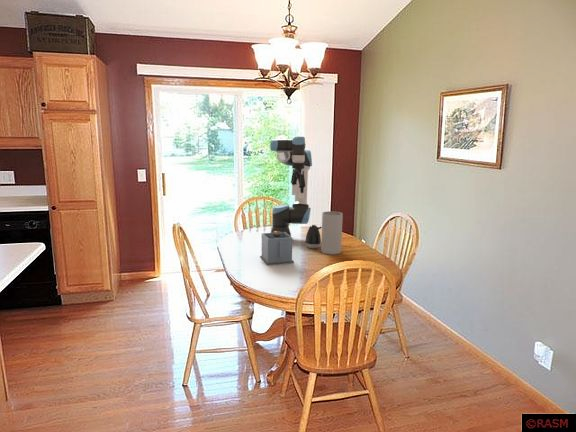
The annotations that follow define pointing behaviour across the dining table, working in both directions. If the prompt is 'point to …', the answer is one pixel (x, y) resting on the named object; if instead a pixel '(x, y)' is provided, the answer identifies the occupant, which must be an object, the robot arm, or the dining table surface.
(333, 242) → the cylinder vase
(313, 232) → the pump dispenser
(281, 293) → the dining table surface
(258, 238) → the dining table surface
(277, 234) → the plunger
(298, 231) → the dining table surface
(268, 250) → the grey open bin
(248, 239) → the dining table surface
